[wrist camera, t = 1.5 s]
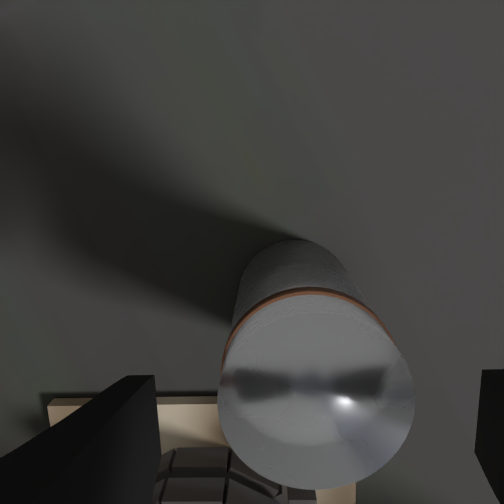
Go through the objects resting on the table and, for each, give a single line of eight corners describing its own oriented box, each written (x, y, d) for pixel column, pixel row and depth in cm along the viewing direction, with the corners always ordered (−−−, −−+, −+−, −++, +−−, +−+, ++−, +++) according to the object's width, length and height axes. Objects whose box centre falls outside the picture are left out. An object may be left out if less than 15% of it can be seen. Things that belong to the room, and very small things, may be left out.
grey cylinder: (352, 236, 17) (423, 308, 10) (350, 345, 18) (413, 491, 11) (235, 240, 17) (209, 312, 10) (239, 347, 19) (220, 492, 11)
